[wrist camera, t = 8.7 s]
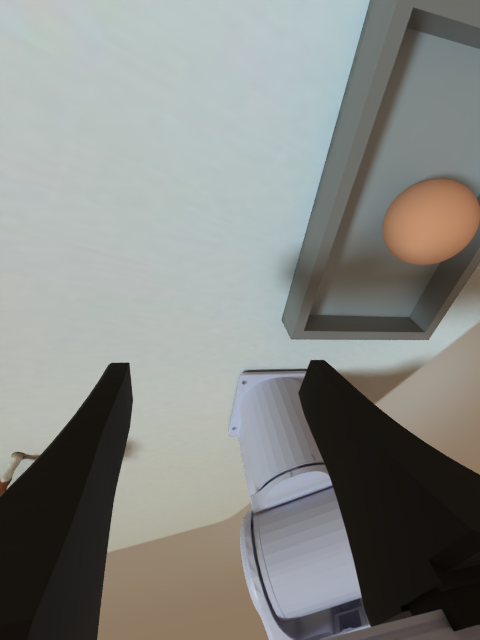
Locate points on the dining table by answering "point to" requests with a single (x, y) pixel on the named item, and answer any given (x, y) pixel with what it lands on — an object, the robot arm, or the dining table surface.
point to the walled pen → (392, 175)
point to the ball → (431, 221)
